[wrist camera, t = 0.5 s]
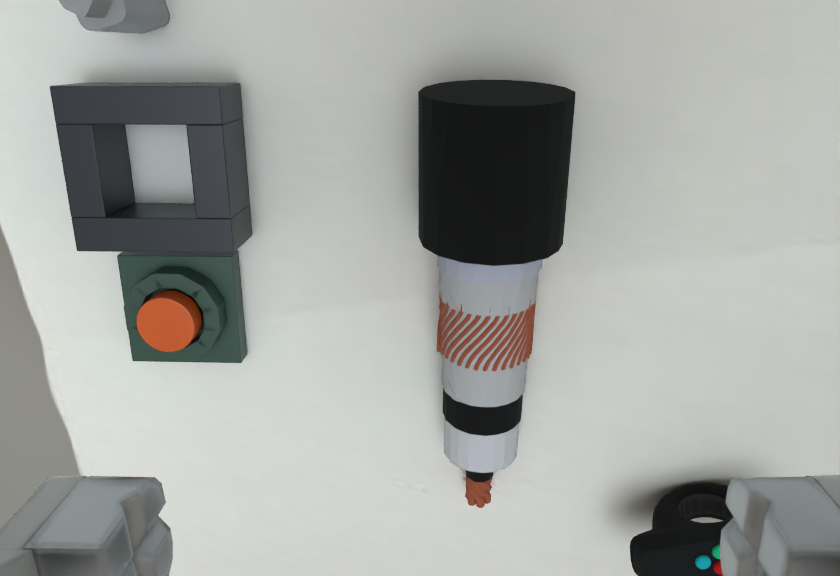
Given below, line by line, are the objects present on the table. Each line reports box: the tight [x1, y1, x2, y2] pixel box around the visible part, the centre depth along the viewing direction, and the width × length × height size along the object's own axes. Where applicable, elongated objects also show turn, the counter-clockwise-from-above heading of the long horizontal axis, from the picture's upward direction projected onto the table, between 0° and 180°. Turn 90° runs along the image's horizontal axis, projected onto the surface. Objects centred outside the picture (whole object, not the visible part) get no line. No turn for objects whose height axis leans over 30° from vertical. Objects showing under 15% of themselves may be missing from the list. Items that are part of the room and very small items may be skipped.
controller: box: [630, 483, 733, 576], centre depth 56 cm, size 4×12×10 cm, turn 102°
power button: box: [137, 291, 202, 352], centre depth 53 cm, size 4×4×2 cm
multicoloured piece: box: [419, 80, 575, 508], centre depth 52 cm, size 10×34×10 cm, turn 0°
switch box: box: [117, 251, 247, 363], centre depth 55 cm, size 9×9×4 cm
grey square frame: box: [50, 83, 252, 253], centre depth 51 cm, size 12×12×5 cm
